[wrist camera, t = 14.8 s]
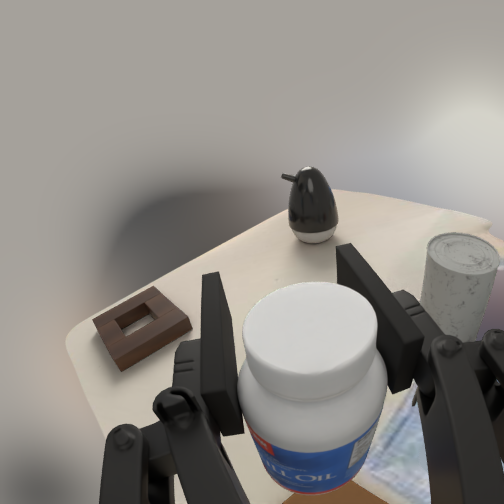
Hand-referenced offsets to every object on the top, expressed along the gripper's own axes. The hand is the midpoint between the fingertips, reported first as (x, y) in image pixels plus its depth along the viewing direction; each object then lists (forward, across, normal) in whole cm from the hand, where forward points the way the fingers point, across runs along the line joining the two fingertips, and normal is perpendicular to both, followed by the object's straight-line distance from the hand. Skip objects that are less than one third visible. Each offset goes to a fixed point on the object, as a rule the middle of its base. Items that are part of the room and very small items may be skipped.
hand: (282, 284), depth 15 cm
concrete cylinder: (+12, +23, -22) cm, 34 cm away
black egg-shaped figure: (+46, +13, -22) cm, 52 cm away
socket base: (+27, -21, -22) cm, 40 cm away
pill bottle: (-5, 0, -8) cm, 9 cm away
